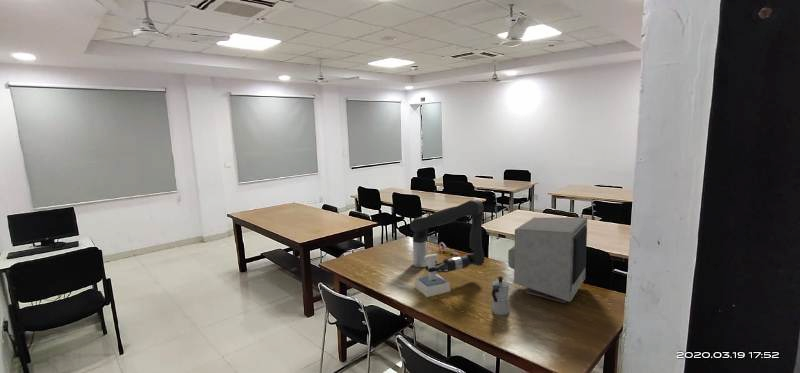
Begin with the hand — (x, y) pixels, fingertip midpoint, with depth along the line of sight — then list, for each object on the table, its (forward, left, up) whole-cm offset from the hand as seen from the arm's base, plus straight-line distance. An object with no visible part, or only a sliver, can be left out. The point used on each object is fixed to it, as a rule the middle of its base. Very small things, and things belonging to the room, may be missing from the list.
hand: (427, 269), depth 211 cm
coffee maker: (+40, +19, -13) cm, 46 cm away
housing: (0, +3, -12) cm, 13 cm away
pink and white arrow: (-49, +45, -13) cm, 68 cm away
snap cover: (0, +3, -8) cm, 9 cm away
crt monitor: (+32, +56, -13) cm, 66 cm away
